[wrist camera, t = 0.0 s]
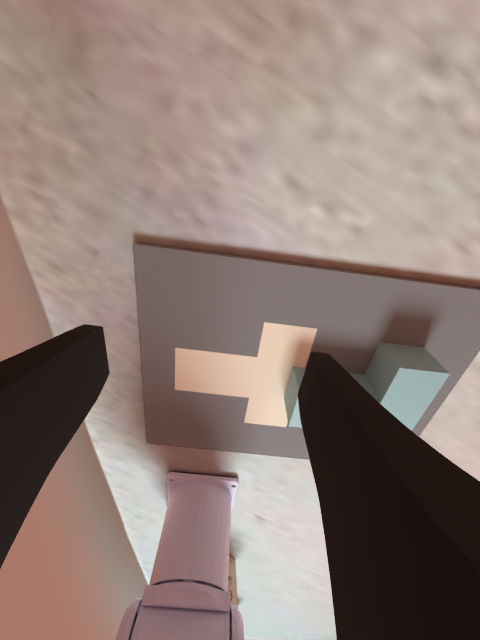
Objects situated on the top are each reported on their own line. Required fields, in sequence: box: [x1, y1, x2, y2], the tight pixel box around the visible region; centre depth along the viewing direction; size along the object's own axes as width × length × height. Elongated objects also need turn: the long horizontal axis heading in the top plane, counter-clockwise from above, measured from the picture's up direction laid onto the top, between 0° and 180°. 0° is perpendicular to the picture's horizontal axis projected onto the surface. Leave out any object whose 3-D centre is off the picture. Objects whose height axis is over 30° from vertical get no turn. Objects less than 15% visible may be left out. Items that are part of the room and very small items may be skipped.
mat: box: [133, 242, 480, 460], centre depth 23 cm, size 20×26×1 cm
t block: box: [284, 342, 450, 431], centre depth 21 cm, size 10×10×3 cm
